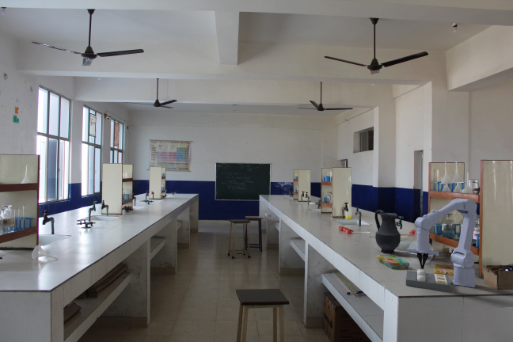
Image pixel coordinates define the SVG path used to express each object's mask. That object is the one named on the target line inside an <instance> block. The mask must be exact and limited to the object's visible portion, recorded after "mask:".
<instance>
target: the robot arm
mask: <svg viewBox="0 0 513 342" xmlns="http://www.w3.org/2000/svg"><path fill="white" fill-rule="evenodd" d="M477 208H478V204H477V203H476V202H475V200H474V199H472V198H460V197H456V198H455V199H452V200H450V202H448V203H447V204H446V205H444V206H442V207H441V208H440V209H438V210H436V209H431V210H430V212H428V213H427V214H424V215H423V216H421V217H420V216H419V217H417V218H416V220H415V221H414V226H415V228H416V229H415V231H416V248H411V247H410V248H406V253H408V254H416V256H417V259H418V261H419V265H420V266H419V267H420V269H421V270H425V266H426V262H427V260H428V259H429V256H437V257H440V256H439V255H440V251H439V250H438V251H437V250H430V230H431V229H432V227H433V226H434V225H435V224H436V223H439V222H441V221H442V220H443V217H444V216H447V215H448V214H450V213H452V212H454V211H456V212H458V213H460V214H461V216H462V217H463V220H462V225H461V229H460V235H459V239H458V244H457V247H455V248H454V249H453V252H452V253H451V255H450V261H451V263H452V265H453V279H452V280H451V282H452V284H453V286H462V287H469V288H476V285H475V284H476V271H475V268H473V266H474V264H475V263H474V262H475V260H474V252H472V250H471V246H472V241H473V236H474V231H475V227H476V221H477V216H478V215H477Z"/></svg>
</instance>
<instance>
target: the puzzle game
mask: <svg viewBox="0 0 513 342" xmlns="http://www.w3.org/2000/svg"><path fill="white" fill-rule="evenodd" d="M375 258H376V259H378V261H379V262H380V263H381V264H383V265H385V266H386V267H388V268H390V269H408V268H409V267H410V265H411V264H410V262H409V261H407V260H404V259H402V258H400V257H397V256H395V255H392V254H391V255H389V254H388V255H379V254H377V255H375Z"/></svg>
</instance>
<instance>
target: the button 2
mask: <svg viewBox="0 0 513 342" xmlns="http://www.w3.org/2000/svg"><path fill="white" fill-rule="evenodd" d="M417 281H424V282H426V277H425V276H422V275H417Z"/></svg>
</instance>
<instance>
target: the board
mask: <svg viewBox="0 0 513 342" xmlns="http://www.w3.org/2000/svg"><path fill="white" fill-rule="evenodd" d="M425 277H426V282H424V281H417V271H414V270H406V277H405V286H406V287H414V288H421V289H427V290H435V291H439V292H447V293H448V292H449V293H452V283H451V280H450V277H449V275H445V274H438V273H428V272H426V275H425Z"/></svg>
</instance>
